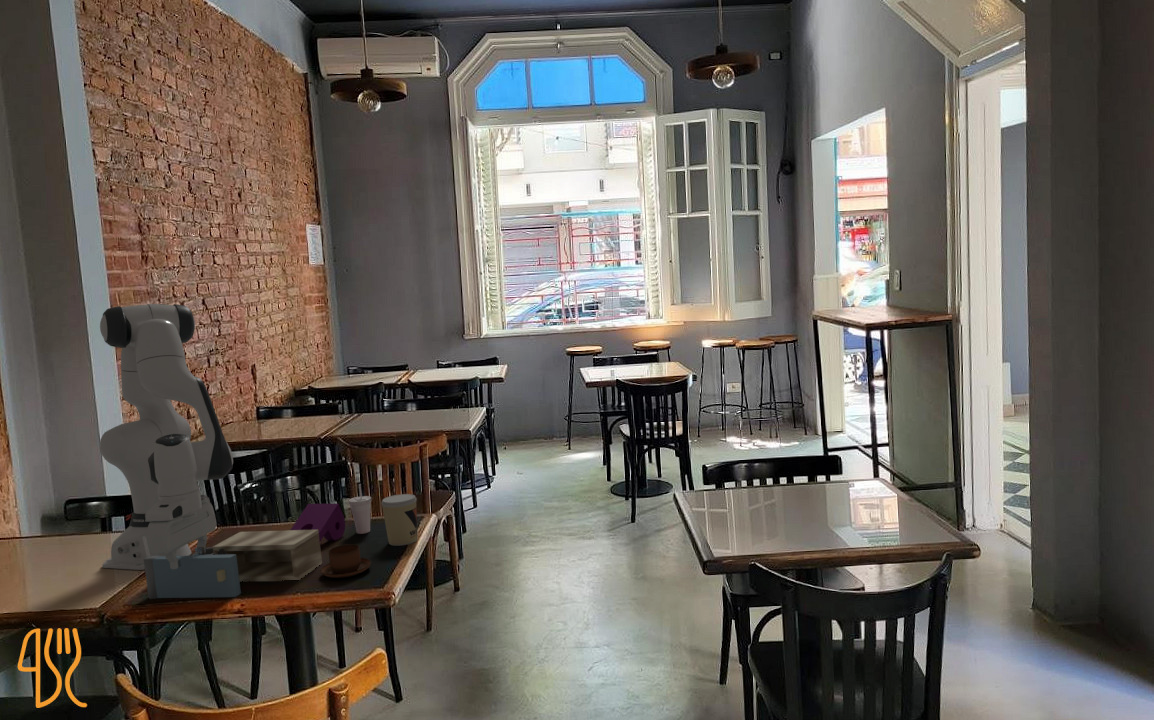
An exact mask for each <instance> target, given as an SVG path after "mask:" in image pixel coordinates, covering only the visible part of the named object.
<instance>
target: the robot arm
mask: <svg viewBox="0 0 1154 720" xmlns="http://www.w3.org/2000/svg"><path fill="white" fill-rule="evenodd" d="M99 328H100V334H101V336H102V338H103V340H104V341H103V342H105V344H107V345H109V346H110V347H113V348H119V349H121V350H120V352H121V353H120V375H121V376H120V377H121V381H120V382H121V395H122V398H123V400H124V401H125V402H126V403H128V404H129V405H131V406H133V407H135V408H136V410H137V412H138V415H139V418H138V419H139V420H134V421H130V422H129V421H128V422H125V423H121V424H119V425H116V426H114V427H112V428H110V429H108V430H106V431H104V433H103V434H102V436H101V438H100V441H99V450H100V453H101V456H102V457H103V459H104V460H105V461H106V462H107V463H109V464H111V465H113V466H114V467H116V468H117V469H118V470H119V471H120V472H121V473H122V474H123V476H124V477H125V479H126V480H127V484H128V486H129V491H130V496H131V499H132V500H131V501H132V507H133V511H132V512H131V513H130V514H128V515H126V516H125V521H129V520H130V522H129V526H128V527H127V528H126V529H125V530H124V531H123V532H122V533H120V534H119V536H118V537H117V538H116V539H115V540H114V541H113V542H112V543H111V548H110V557H109V558H108V559H106V560H104V562H103V563H102V568H103V569H104V568H105V569H116V570H118V569H119V570H132V571H134V570H135V571H143V570H144V571H145V566H144V558H146V557H150V556H165V557H166V558H167V560H168V561H169V562H170V568H171V569H177V568H179V567H180V566H181V561H180V559H179V560H178V559H177V557H176V556H189V555H191V554H192V550H191V548H190V546H189V544H190V543H192V542H194V541H196V540H197V542H196V543H197V545H196V547H195V548H194V551H195V552H196V555H203V554H205V553H206V549H205V548H206V545H207V542H208V534H210V533H212V532H214V531H215V530H216V529H217V519H216V514H215V510H214V507H213V505H212V503H211V501H210V497H209V496H207V495H206V494H201V489H200V486H199V483H198V482H201V481H205V480H206V481H211V480H212V481H213V480H222V479H223V478H225V477H226V476H227V475H228V474H229V473H230V472H231V471H232V470H233V466H234V465H233V464H234V456H233V452H232V449H231V447H230V444H228V442H227V440H226V438H225V434H224V433H223V430H222V428H221V425H220V422H219V419H218V416H217V412H216V409H215V408H214V404H213V401H212V399H211V396H210V394H209V391H208V389H207V387H206V384H205V383H204V381H203V380H202V378H201V377H198V376H194V374H193V373H192V371H190V369H189V367H188V364H187V361H186V357H185V350H184V345H183V344H185V343H188V342H189V341H190V340H191V339H192V338H193V337H194V333H195V328H196V320H195V318H194V315H193V312H192V310H191V309H190V308H189V307H188V306H186V305H183V304H176V303H175V304H173V305H172V304H163V303H161V304H160V303H159V304H158V303H147V304H139V305H136V304H135V305H128V306H127V305H126V306H119V305H118V306H114V307H109V308H107V309H106V310H104V312H103V313H102V317H101V319H100V323H99ZM172 401H176V402H180V403H184V404H186V405H189V406H191V407H192V408H193V409H194V411H195V412H196V414H197V415H198V419H199V421H200V424H201V428H202V430H203V432H204V436H205V437H204V439H203V440H200V441H192V442H191V438H192V430H191V426H190V423H189V422H188V420H187V419H186V418H185V417H184V416H182V415H180V414H179V413H178V412H177V410H176V409H175V407H174V406H173V403H172Z"/></svg>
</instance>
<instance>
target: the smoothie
mask: <svg viewBox="0 0 1154 720" xmlns="http://www.w3.org/2000/svg"><path fill="white" fill-rule="evenodd" d="M358 490H359V496H355V497H352V498H350V499H349V500H348V505H349V506H350V510H351V514H352V517H353V522H354V526H355V530H356V534H359V535H362V534H367V533H371V507H372V505H371V502H372V496H369V495H363V493H362V484H361V483H359V484H358Z"/></svg>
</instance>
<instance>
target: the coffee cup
mask: <svg viewBox="0 0 1154 720" xmlns="http://www.w3.org/2000/svg"><path fill="white" fill-rule="evenodd" d="M417 500H418V498H417V497H416V495H414V494H411V493H402V494H394V495H390V496H386V497H385V498H383V499H382V500H381V506H382V507H381V508H382V512H383V518H384V523H385V529H386V530H385V531H386V535H387V540H388V544H389V545H391V546H400V547H401V546H407V545H410V544H414V543H417V541H418V515H417V514H418V513H417V512H418V511H417V509H418V508H417Z"/></svg>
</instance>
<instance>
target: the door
mask: <svg viewBox="0 0 1154 720" xmlns="http://www.w3.org/2000/svg"><path fill="white" fill-rule="evenodd" d="M176 557H177V559H178V560H179V559H180V561H181V566H180V567H179V568H177V569H171V568H170V562H169V561H168V560H167V558H166V557H165V556H150V557H146V558H144V566H145V569H144V572H145V580H146V586H147V587H146V588H147V594H148V599H149V600H157V599H188V598H189V599H191V598H194V599H195V598H196V599H197V598H198V599H199V598H236V597H238V596H239V595H241V594H242V591H241V584H240V582H239V574H238V566H237V558H236V554H229V555H191V554H190V555H189V556H176Z"/></svg>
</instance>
